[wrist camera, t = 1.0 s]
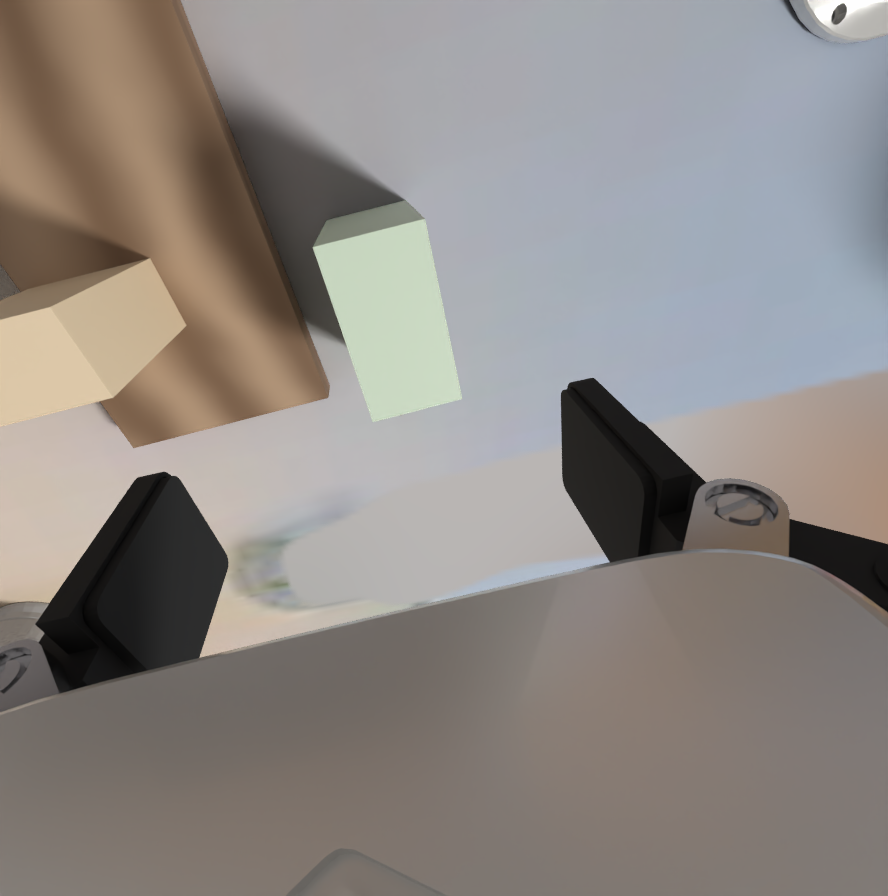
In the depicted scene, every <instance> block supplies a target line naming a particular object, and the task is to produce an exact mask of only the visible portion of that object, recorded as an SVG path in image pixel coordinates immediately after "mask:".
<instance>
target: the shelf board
mask: <svg viewBox="0 0 888 896" xmlns="http://www.w3.org/2000/svg"><path fill="white" fill-rule="evenodd" d="M149 258H150V259H151V261H152V263H153V265H154V266H155V268H156V270H157V272H158V274H159V276H160V277H161V279H162V281H163V283H164V285H165V287H166V289H167V290H168V292H169V294H170V296H171V298H172V300H173V301H174V303H175V305H176V307H177V309H178V311H179V313H180V314H181V316H182V318H183V320H184V322H185V324H186V325H187V326H186V327H185V328H184V329H183V330H182V331H181V332H180V333H179V334H178V335H177V336H176V337H175V338H173V339H172V340H171V341H170V342H169V343H168V344H167V345H166V346H165V347H164V348H163V349H162V350H161V351H160V352H159V353H158V354H157V355H156V356H155V357H154V358H153V359H152V360H151V361H150V362H149V363H148V364H147V365H146V366H145V367H144V368H143V369H142V370H141V371H140V372H139V373H138V374H137V375H136V376H135V377H134V378H133V379H132V380H131V381H130V382H129V383H128V384H127V385H126V386H125V387H124V388H123V389H122V390H121V391H120V392H119V393H118V394H117V395H116V396H115V397H114V398H110V399H106V400H102V401H100V402H101V404H102V405H103V406H104V408H105V409H106V411H107V412H108V413H109V415H110V416H111V417H112V419H113V420H114V422H115V423H116V424H117V426H118V427H119V428H120V430H121V431H122V433H123V434H124V435H125V437H126V438H127V440H128V441H129V442H130V444H131V445H132V446H133V448H136V447H140V446H144V445H148V444H151V443H155V442H159V441H163V440H167V439H171V438H175V437H178V436H182V435H186V434H190V433H194V432H198V431H202V430H205V429H209V428H213V427H217V426H221V425H225V424H229V423H232V422H236V421H240V420H244V419H248V418H252V417H256V416H259V415H263V414H267V413H271V412H275V411H279V410H283V409H286V408H290V407H294V406H298V405H302V404H306V403H310V402H313V401H317V400H321V399H325V398H328V396H329V388H330V385H329V382H328V380H327V377H326V375H325V372H324V369H323V367H322V364H321V362H320V359H319V357H318V354H317V351H316V349H315V346H314V344H313V341H312V338H311V336H310V333H309V331H308V328H307V326H306V323H305V320H304V318H303V315H302V313H301V310H300V308H299V305H298V302H297V300H296V297H295V295H294V292H293V289H292V287H291V284H290V282H289V279H288V277H287V274H286V271H285V269H284V266H283V264H282V261H281V259H280V256H279V253H278V251H277V248H276V246H275V243H274V241H273V238H272V235H271V233H270V230H269V228H268V225H267V222H266V220H265V217H264V215H263V212H262V210H261V207H260V204H259V202H258V199H257V197H256V194H255V192H254V189H253V186H252V184H251V181H250V179H249V176H248V173H247V171H246V168H245V166H244V163H243V161H242V158H241V155H240V153H239V150H238V148H237V145H236V143H235V140H234V137H233V135H232V132H231V130H230V127H229V125H228V122H227V119H226V117H225V114H224V112H223V109H222V106H221V104H220V101H219V99H218V96H217V94H216V91H215V88H214V86H213V83H212V81H211V78H210V76H209V73H208V70H207V68H206V65H205V63H204V60H203V57H202V55H201V52H200V50H199V47H198V45H197V42H196V39H195V37H194V34H193V32H192V29H191V27H190V24H189V21H188V19H187V16H186V14H185V11H184V8H183V6H182V3H181V1H180V0H0V264H1V265H2V267H3V268H4V270H5V271H6V272H7V274H8V275H9V276H10V278H11V279H12V281H13V282H14V283H15V285H16V286H17V288H18V289H19V290H20V292H22V291H24V290H27V289H30V288H34V287H38V286H42V285H46V284H50V283H54V282H58V281H62V280H65V279H69V278H73V277H77V276H81V275H85V274H89V273H93V272H97V271H101V270H105V269H109V268H113V267H117V266H121V265H125V264H129V263H133V262H137V261H141V260H145V259H149Z"/></svg>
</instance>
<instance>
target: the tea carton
mask: <svg viewBox="0 0 888 896" xmlns="http://www.w3.org/2000/svg"><path fill="white" fill-rule="evenodd" d="M313 250H314V253H315V256H316V259H317V261H318V264H319V267H320V270H321V273H322V276H323V279H324V282H325V285H326V288H327V290H328V293H329V296H330V299H331V302H332V305H333V308H334V311H335V314H336V316H337V319H338V322H339V325H340V328H341V331H342V334H343V337H344V340H345V343H346V345H347V348H348V351H349V354H350V357H351V360H352V363H353V366H354V369H355V372H356V374H357V377H358V380H359V383H360V386H361V389H362V392H363V395H364V398H365V401H366V403H367V406H368V409H369V412H370V415H371V418H372V421H373V422H375V421H379V420H383V419H387V418H391V417H395V416H398V415H402V414H406V413H410V412H414V411H418V410H422V409H425V408H429V407H433V406H437V405H441V404H445V403H448V402H452V401H456V400H460V399H462V395H461V391H460V386H459V381H458V376H457V371H456V367H455V362H454V357H453V352H452V347H451V342H450V338H449V333H448V328H447V323H446V318H445V314H444V309H443V304H442V299H441V294H440V289H439V285H438V280H437V275H436V270H435V265H434V261H433V256H432V251H431V246H430V241H429V236H428V232H427V227H426V222H425V218H423V217H422V216H421V215H420V214H419V213H418V212H417V211H416V210H415V209H414V208H413V207H412V206H411V205H410V204H409V203H408V202H407V201H406V200H404V201H400V202H396V203H392V204H388V205H384V206H380V207H376V208H373V209H369V210H365V211H361V212H357V213H353V214H349V215H345V216H341V217H337V218H333V219H329V220H326V222H325V224H324V226H323V228H322V230H321V232H320V234H319V236H318V238H317V240H316V242H315V244H314V246H313Z"/></svg>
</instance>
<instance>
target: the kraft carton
mask: <svg viewBox="0 0 888 896" xmlns="http://www.w3.org/2000/svg"><path fill="white" fill-rule="evenodd" d="M186 326H187V325H186V324H185V322H184V320H183V318H182V316H181V314H180V313H179V311H178V309H177V307H176V305H175V303H174V301H173V300H172V298H171V296H170V294H169V292H168V290H167V289H166V287H165V285H164V283H163V281H162V279H161V277H160V276H159V274H158V272H157V270H156V268H155V266H154V265H153V263H152V261H151V259H150V258H149V259H145V260H141V261H137V262H133V263H129V264H125V265H121V266H117V267H113V268H109V269H105V270H101V271H97V272H93V273H89V274H85V275H81V276H77V277H73V278H69V279H65V280H62V281H58V282H54V283H50V284H46V285H42V286H38V287H34V288H30V289H27V290H24V291H22V292H19V293H17V294H15V295H12V296H10V297H7V298H5V299H2V300H0V427H1V426H5V425H9V424H13V423H17V422H21V421H24V420H28V419H32V418H36V417H40V416H44V415H48V414H52V413H55V412H59V411H63V410H67V409H71V408H75V407H79V406H83V405H87V404H90V403H94V402H98V401H102V400H106V399H110V398H114V397H115V396H116V395H117V394H118V393H119V392H120V391H121V390H122V389H123V388H124V387H125V386H126V385H127V384H128V383H129V382H130V381H131V380H132V379H133V378H134V377H135V376H136V375H137V374H138V373H139V372H140V371H141V370H142V369H143V368H144V367H145V366H146V365H147V364H148V363H149V362H150V361H151V360H152V359H153V358H154V357H155V356H156V355H157V354H158V353H159V352H160V351H161V350H162V349H163V348H164V347H165V346H166V345H167V344H168V343H169V342H170V341H171V340H172V339H173V338H175V337H176V336H177V335H178V334H179V333H180V332H181V331H182V330H183V329H184V328H185V327H186Z"/></svg>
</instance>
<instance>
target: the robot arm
mask: <svg viewBox="0 0 888 896" xmlns="http://www.w3.org/2000/svg"><path fill="white" fill-rule="evenodd" d="M790 3H791V5H792V6H793V8H794V10H795V12H796V14H797V16H798V18H799V20H800V21H801V22H802V23H803V24H804V25H805V26H806V27H807V28H808V29H809V30H810V31H811V32H812V33H813V34H815V35H817V36H819V37H820V38H822V39H824V40H826V41H830V42H836V43H842V44H847V43H855V42H863V41H867V40H871V39H874V38H878V37H882V36H886V35H888V0H790ZM561 425H562V474H563V475H562V476H563V483H564V486H565V489H566V491H567V493H568V494H569V496H570V497H571V499H572V501H573V503H574V504H575V506H576V507H577V509H578V511H579V512H580V514H581V515H582V517H583V519H584V521H585V522H586V524H587V525H588V527H589V529H590V530H591V532H592V534H593V535H594V537H595V538H596V540H597V542H598V543H599V545H600V547H601V548H602V550H603V552H604V553H605V555H606V557H607V558H608V560H609V561H610V563H605V564H599V565H595V566H590V567H586V568H582V569H577V570H573V571H569V572H564V573H559V574H555V575H550V576H545V577H541V578H537V579H532V580H528V581H524V582H519V583H515V584H511V585H506V586H502V587H498V588H493V589H489V590H485V591H480V592H476V593H472V594H467V595H463V596H459V597H454V598H450V599H446V600H441V601H437V602H432V603H428V604H424V605H420V606H415V607H411V608H407V609H403V610H398V611H394V612H390V613H386V614H381V615H377V616H373V617H369V618H364V619H360V620H356V621H352V622H347V623H343V624H339V625H335V626H330V627H326V628H322V629H318V630H314V631H309V632H305V633H301V634H297V635H292V636H288V637H284V638H280V639H276V640H272V641H267V642H263V643H259V644H255V645H251V646H247V647H243V648H238V649H234V650H230V651H226V652H222V653H218V654H214V655H209V656H205V657H201V658H199V657H200V653H201V650H202V647H203V644H204V641H205V638H206V635H207V632H208V629H209V625H210V622H211V619H212V616H213V613H214V610H215V607H216V604H217V601H218V597H219V594H220V591H221V588H222V585H223V582H224V579H225V576H226V573H227V569H228V558H227V555H226V553H225V551H224V549H223V548H222V546H221V545H220V543H219V541H218V540H217V538H216V537H215V535H214V533H213V532H212V530H211V529H210V527H209V525H208V524H207V522H206V521H205V519H204V517H203V516H202V514H201V513H200V511H199V509H198V508H197V506H196V505H195V503H194V501H193V500H192V498H191V496H190V495H189V493H188V492H187V490H186V488H185V487H184V485H183V484H182V482H181V481H180V479H179V478H178V477H176V476H171V475H170V474H168V473H166V472H161V473H156V474H152V475H147V476H143V477H139V478H137V479H136V480H135V481H134V482H133V484H132V485H131V487H130V488H129V489H128V491H127V492H126V494H125V495H124V497H123V498H122V500H121V501H120V502H119V504H118V505H117V507H116V508H115V510H114V511H113V512H112V514H111V515H110V517H109V518H108V520H107V521H106V523H105V524H104V525H103V527H102V528H101V530H100V531H99V533H98V534H97V536H96V537H95V538H94V540H93V541H92V543H91V544H90V546H89V547H88V549H87V550H86V551H85V553H84V554H83V556H82V557H81V559H80V560H79V562H78V563H77V564H76V566H75V567H74V569H73V570H72V572H71V573H70V574H69V576H68V577H67V579H66V580H65V582H64V583H63V585H62V586H61V587H60V589H59V590H58V592H57V593H56V595H55V596H54V598H53V599H52V600H51V602H50V603H49V605H48V606H47V608H46V609H45V611H44V612H43V613H42V615H41V616H40V618H39V619H38V621H37V622H36V624H35V625H36V626H37V627H38V628H39V629H41V630H42V631H43V632H44V635H43V636H42V638H41V639H40V641H39V642H37V641H35V640H30V639H26V640H20V641H15V642H13V643H10V644H7V645H5V646H2V647H0V896H888V544H885V543H881V542H877V541H873V540H869V539H865V538H862V537H858V536H854V535H850V534H846V533H842V532H838V531H834V530H830V529H826V528H822V527H818V526H815V525H811V524H807V523H803V522H799V521H795V520H791V519H789V515H790V514H789V510H788V506H787V504H786V503H785V502H784V500H783V499H782V498H781V497H780V496H779V495H777V494H776V493H775V492H773V491H772V490H770V489H768V488H766V487H764V486H762V485H759V484H757V483H754V482H750V481H746V480H740V479H731V478H729V479H717V480H714V481H710V482H707V483H706V482H705V481H704V480H703V479H702V478H701V477H700V476H698V474H696V472H695V471H693V470H692V469H691V468H690V467H689V466H688V465H687V464H686V463H685V462H684V461H683V460H682V459H681V458H680V457H679V456H678V455H676V453H675V452H673V451H672V450H671V449H670V448H669V447H668V446H667V445H666V444H665V443H664V442H663V441H662V440H661V439H660V438H659V437H658V436H657V435H655V434H654V433H653V432H652V431H651V430H650V429H649V428H648V427H647V426H646V425H645V424H643V423H642V422H639V421H638V420H637V419H636V418H635V417H634V416H633V415H632V414H631V413H630V412H629V411H628V410H627V409H626V408H625V407H624V406H623V405H622V404H621V403H620V402H618V401H617V400H616V399H615V398H614V397H613V396H612V395H611V394H610V393H609V392H608V391H607V390H606V389H605V388H604V387H603V386H602V385H601V384H600V383H599V382H598V381H597V380H596V379H594V378H589V379H585V380H580V381H576V382H571V383H569V384H568V388H567V389H566V390H563V391H562V393H561Z"/></svg>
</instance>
